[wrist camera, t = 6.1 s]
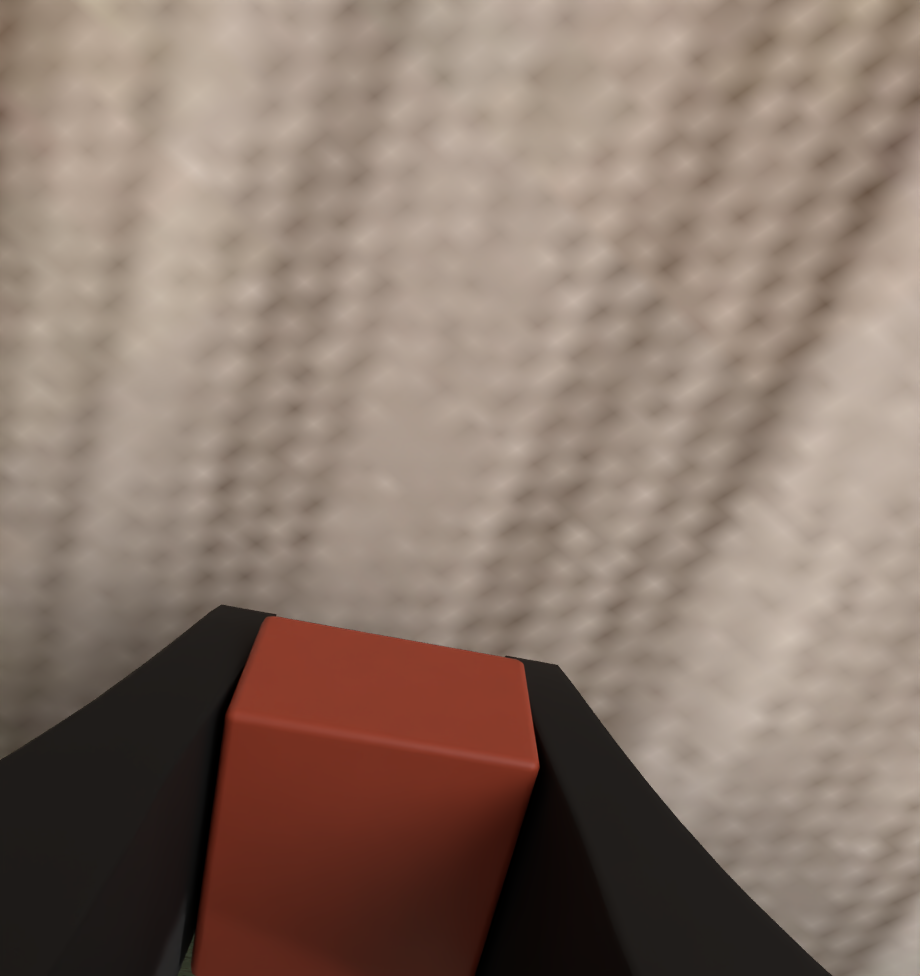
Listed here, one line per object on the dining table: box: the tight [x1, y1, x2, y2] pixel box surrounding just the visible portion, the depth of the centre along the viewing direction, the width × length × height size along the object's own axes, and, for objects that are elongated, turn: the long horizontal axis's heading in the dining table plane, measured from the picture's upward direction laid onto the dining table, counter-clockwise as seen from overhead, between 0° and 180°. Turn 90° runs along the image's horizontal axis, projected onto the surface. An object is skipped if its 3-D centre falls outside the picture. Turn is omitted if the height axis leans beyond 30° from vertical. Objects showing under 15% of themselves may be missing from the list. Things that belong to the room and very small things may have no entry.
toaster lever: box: [191, 616, 540, 976], centre depth 9 cm, size 6×3×2 cm, turn 168°
